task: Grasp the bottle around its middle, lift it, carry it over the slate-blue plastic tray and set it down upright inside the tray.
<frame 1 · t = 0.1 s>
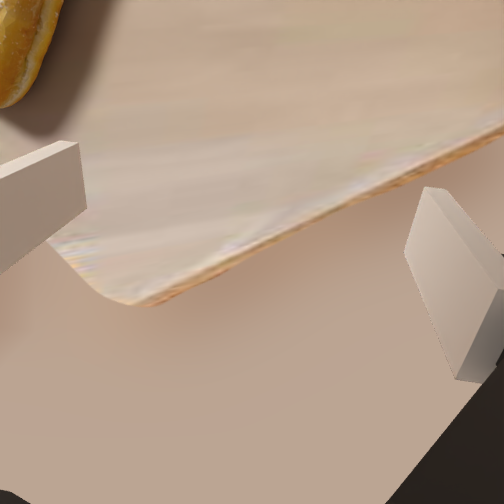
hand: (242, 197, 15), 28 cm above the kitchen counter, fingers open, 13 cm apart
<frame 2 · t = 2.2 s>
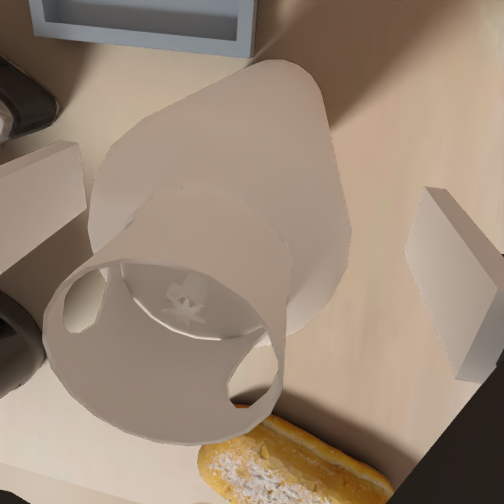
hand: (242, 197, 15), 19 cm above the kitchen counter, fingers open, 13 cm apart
bread: (298, 454, 53), on the kitchen counter
bottle: (274, 114, 32), on the kitchen counter
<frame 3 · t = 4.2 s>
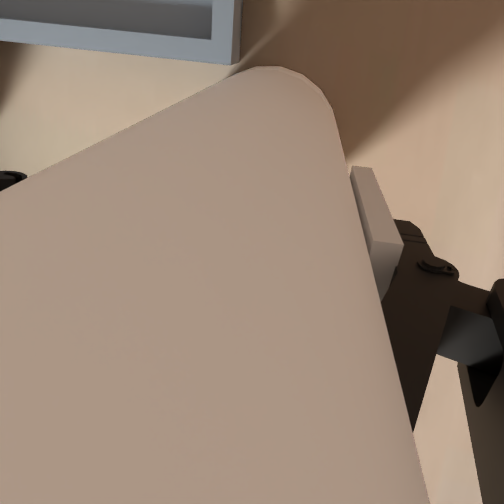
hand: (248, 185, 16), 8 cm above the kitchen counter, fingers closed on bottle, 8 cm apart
bottle: (268, 140, 24), on the kitchen counter, touching gripper
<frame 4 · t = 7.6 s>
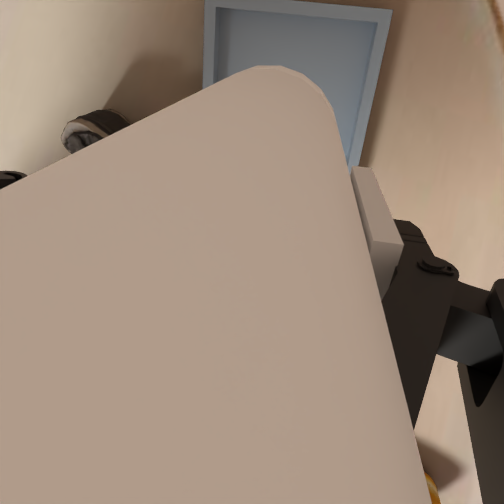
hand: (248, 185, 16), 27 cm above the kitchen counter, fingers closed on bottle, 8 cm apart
tray: (286, 96, 40), on the kitchen counter
bottle: (268, 139, 23), point 19 cm above the kitchen counter, touching gripper
camera: (147, 177, 46), on the kitchen counter
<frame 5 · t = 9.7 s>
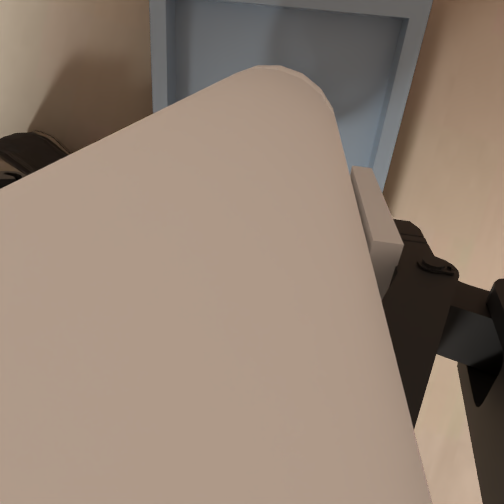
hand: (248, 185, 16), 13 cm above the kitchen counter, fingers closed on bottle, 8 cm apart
tray: (274, 123, 28), on the kitchen counter
bottle: (268, 139, 23), point 5 cm above the kitchen counter, touching gripper
camera: (95, 220, 34), on the kitchen counter
when the fingers open (10 cm above the kitchen counter, at t = 11.3 s): bottle drops 2 cm, resting on tray.
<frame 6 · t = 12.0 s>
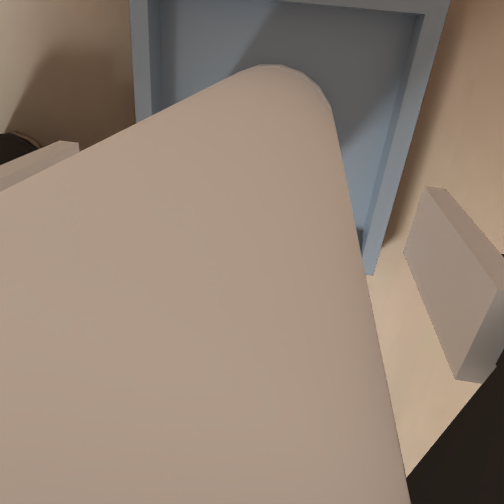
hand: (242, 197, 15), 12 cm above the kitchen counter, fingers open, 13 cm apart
tray: (271, 132, 25), on the kitchen counter
bottle: (269, 133, 25), resting on tray
camera: (81, 230, 31), on the kitchen counter
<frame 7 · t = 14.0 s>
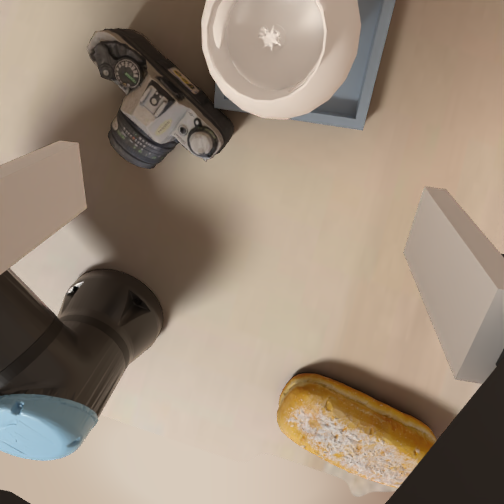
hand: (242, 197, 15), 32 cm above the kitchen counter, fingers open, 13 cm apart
tray: (301, 33, 40), on the kitchen counter
bread: (354, 412, 66), on the kitchen counter
bottle: (300, 33, 40), resting on tray
camera: (166, 107, 46), on the kitchen counter
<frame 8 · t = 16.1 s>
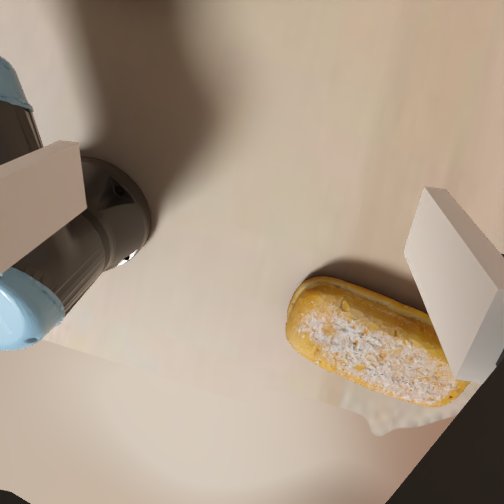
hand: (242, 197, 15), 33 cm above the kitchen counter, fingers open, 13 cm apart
bread: (374, 326, 58), on the kitchen counter
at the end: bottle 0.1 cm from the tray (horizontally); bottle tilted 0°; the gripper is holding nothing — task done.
